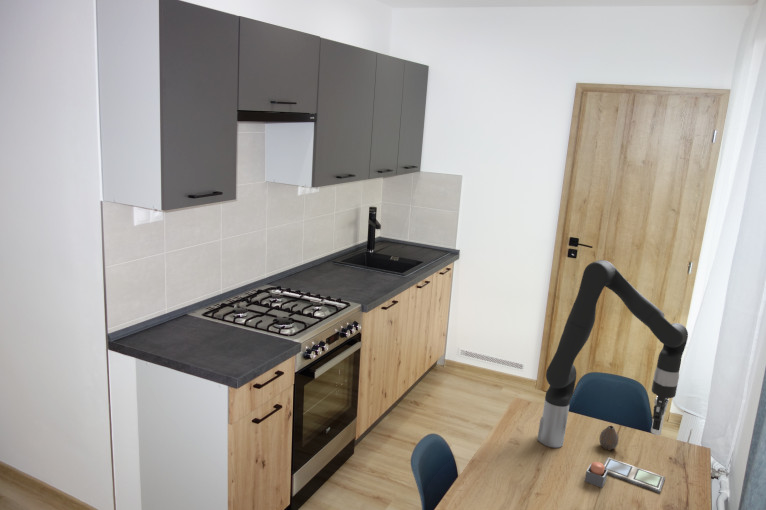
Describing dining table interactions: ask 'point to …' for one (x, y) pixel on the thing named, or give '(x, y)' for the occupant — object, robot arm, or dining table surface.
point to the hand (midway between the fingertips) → (656, 426)
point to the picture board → (634, 475)
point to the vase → (609, 438)
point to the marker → (658, 432)
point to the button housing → (595, 477)
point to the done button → (597, 468)
